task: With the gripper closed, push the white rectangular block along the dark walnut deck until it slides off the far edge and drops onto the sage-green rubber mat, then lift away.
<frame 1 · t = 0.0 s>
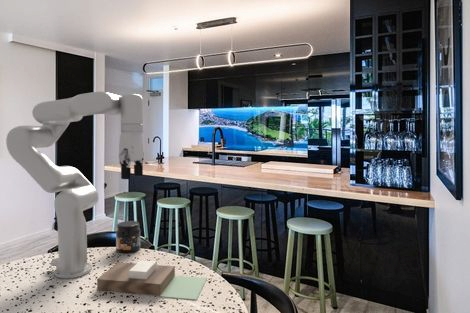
hand: (132, 177, 113), 37 cm above the table, tool pointing down, fingers open, 9 cm apart
mat: (184, 287, 108), on the table
deck: (137, 283, 110), on the table
supplement container: (128, 250, 142), on the table
white rectangular block: (143, 269, 110), point 5 cm above the table, touching deck
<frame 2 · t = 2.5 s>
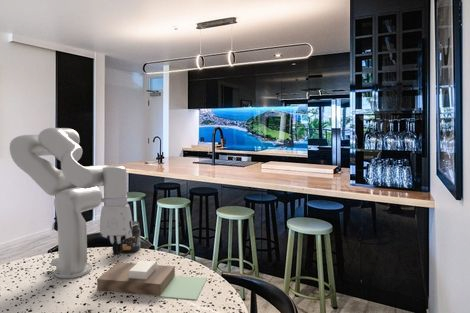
hand: (117, 253, 110), 10 cm above the table, tool pointing down, fingers closed
nothing on the table moved.
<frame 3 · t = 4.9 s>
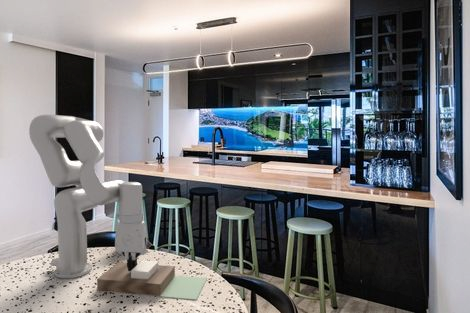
hand: (132, 269, 110), 5 cm above the table, tool pointing down, fingers closed
white rectangular block: (145, 269, 110), point 5 cm above the table, touching deck, gripper
everything else where it was.
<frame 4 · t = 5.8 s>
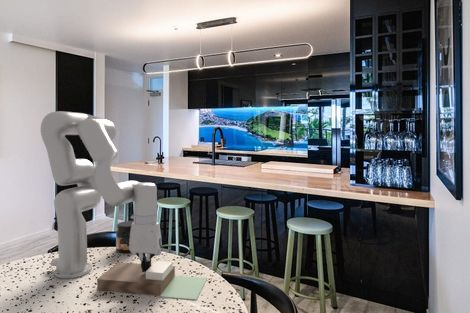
hand: (146, 270, 110), 5 cm above the table, tool pointing down, fingers closed
white rectangular block: (159, 270, 109), point 5 cm above the table, touching deck, gripper
everything else where it was.
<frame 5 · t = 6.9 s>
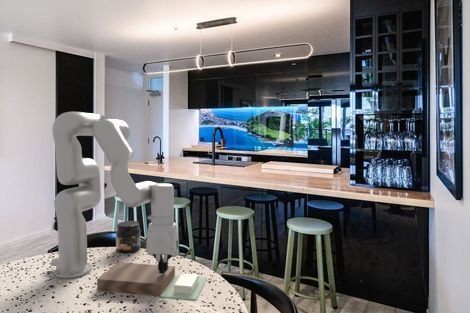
hand: (163, 271, 109), 5 cm above the table, tool pointing down, fingers closed
white rectangular block: (186, 283, 108), point 2 cm above the table, tilted 180°, touching mat
everything else where it was.
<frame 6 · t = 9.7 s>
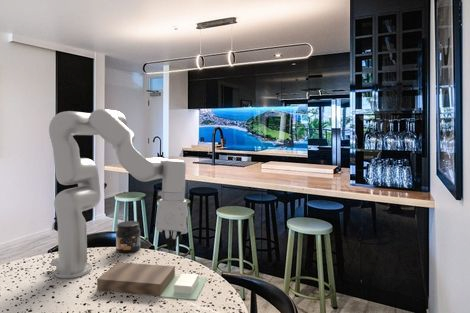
hand: (171, 248, 108), 13 cm above the table, tool pointing down, fingers closed
nothing on the table moved.
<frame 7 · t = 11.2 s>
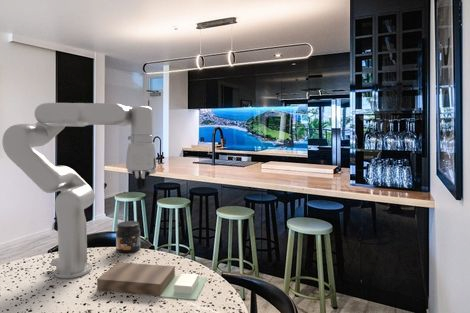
hand: (141, 188, 118), 32 cm above the table, tool pointing down, fingers closed
nothing on the table moved.
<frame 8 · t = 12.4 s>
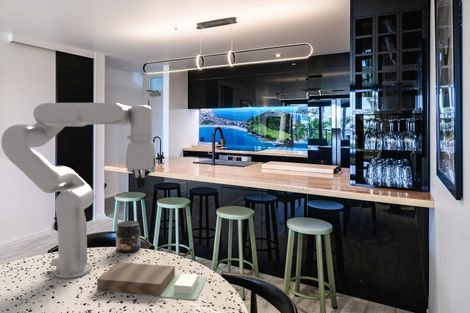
hand: (141, 187, 118), 32 cm above the table, tool pointing down, fingers closed
nothing on the table moved.
at the end: white rectangular block point 1.5 cm above the table; white rectangular block inside the target area on the mat (0.6 cm from its centre), point 1.5 cm above the mat's base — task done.
